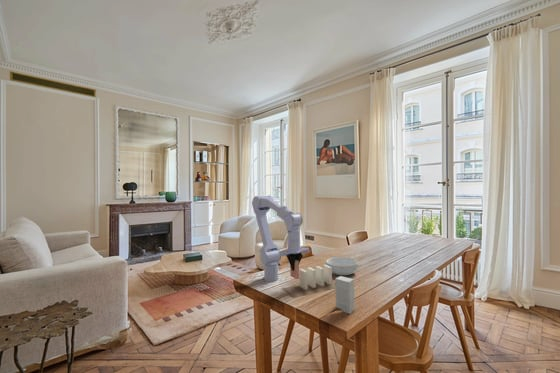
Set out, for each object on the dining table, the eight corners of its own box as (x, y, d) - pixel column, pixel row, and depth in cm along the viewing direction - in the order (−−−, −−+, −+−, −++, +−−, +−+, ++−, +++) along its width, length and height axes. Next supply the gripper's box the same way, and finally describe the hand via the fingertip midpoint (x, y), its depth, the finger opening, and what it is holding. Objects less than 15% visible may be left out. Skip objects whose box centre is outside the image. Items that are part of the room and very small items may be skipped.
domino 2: (313, 288, 117) (312, 270, 117) (307, 284, 121) (307, 267, 121) (316, 287, 117) (315, 270, 117) (310, 283, 122) (310, 267, 122)
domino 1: (304, 289, 115) (304, 272, 115) (299, 286, 119) (299, 269, 119) (307, 289, 115) (307, 271, 115) (302, 285, 120) (302, 268, 120)
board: (292, 300, 107) (292, 297, 107) (281, 290, 117) (281, 288, 117) (341, 289, 117) (341, 287, 117) (327, 281, 127) (327, 279, 127)
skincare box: (355, 310, 97) (354, 279, 97) (350, 314, 94) (349, 282, 94) (340, 305, 101) (340, 275, 101) (335, 309, 98) (334, 278, 98)
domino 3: (321, 286, 118) (321, 269, 119) (315, 282, 123) (315, 266, 123) (324, 285, 119) (323, 268, 119) (318, 282, 124) (318, 265, 124)
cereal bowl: (332, 267, 149) (332, 255, 149) (361, 271, 141) (361, 259, 141) (321, 276, 135) (321, 263, 135) (353, 281, 126) (352, 267, 126)
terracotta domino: (295, 279, 113) (295, 261, 113) (290, 275, 117) (290, 258, 117) (299, 278, 114) (298, 260, 114) (293, 275, 118) (293, 258, 118)
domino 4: (329, 284, 120) (328, 267, 120) (323, 281, 125) (323, 264, 125) (332, 283, 121) (331, 267, 121) (326, 280, 126) (325, 264, 126)
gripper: (283, 243, 109) (284, 275, 109) (312, 240, 115) (312, 269, 115) (276, 240, 115) (277, 270, 115) (304, 237, 121) (304, 265, 121)
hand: (294, 269), depth 116 cm, fingers closed on terracotta domino, 1 cm apart
